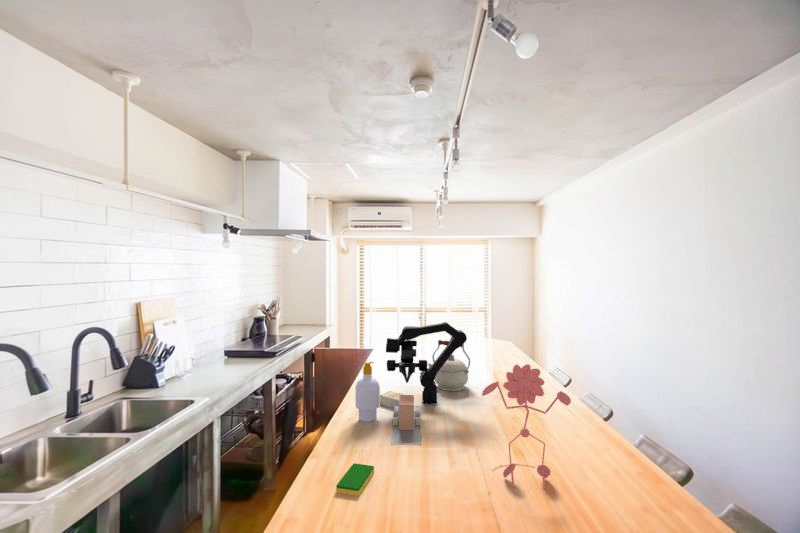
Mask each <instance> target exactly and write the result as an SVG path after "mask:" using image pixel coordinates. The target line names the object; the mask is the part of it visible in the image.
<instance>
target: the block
mask: <svg viewBox="0 0 800 533" xmlns="http://www.w3.org/2000/svg"><path fill="white" fill-rule="evenodd" d="M414 411H415V395H414V394H404V395H400V398H399V430H414Z"/></svg>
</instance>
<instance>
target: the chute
mask: <svg viewBox="0 0 800 533" xmlns="http://www.w3.org/2000/svg"><path fill="white" fill-rule="evenodd" d="M420 408H421V407H420V405H414V430H399V406H394V408H393V414H392V415H393V416H392V432H391V441H390V445H391V446H395V445H396V446H398V445H399V446H400V445H401V446H403V445H404V446H422V444H423V443H422V430H421V429H422V428H421V409H420Z"/></svg>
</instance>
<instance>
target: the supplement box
mask: <svg viewBox="0 0 800 533" xmlns="http://www.w3.org/2000/svg"><path fill="white" fill-rule="evenodd" d="M400 395H405V394H403V393H400V392H396V391H392V390H390V391H387V392H385V393H382V394H380V406H383V407H389V408H393V409H394V406H399V398H400Z"/></svg>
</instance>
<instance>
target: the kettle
mask: <svg viewBox="0 0 800 533" xmlns="http://www.w3.org/2000/svg"><path fill="white" fill-rule="evenodd" d="M449 341H450V340H441V339H438V341H437V348H436V349H435V350H434V351H433V353H432V355H431V356H432V357H431V358H432V362H433V363H434V362H435V354H436V352H437V351H438V350H439V349H440V347H441V345H443V346H445V347H446V346H447V345H448V344H449ZM464 344H465V343H464ZM464 344H463V345H461V346H460V347H459V348H462V352H463V353H464V355H465V357H467V360H468V365H467V366H466V364H465V363H464V361H463V360H461V359H459V358H456V357H455V355H454V354H452V355H451V356H450V357H449V358H448V360H447V361H446V362H445V363H444V365H443V366H442V367H441V369H440V370H439V371H438V372H437V375H436V377H435V379H434V381H435V383H436V385H437V388H438V389H440V390H443V391H445V392H446V391H447V392H457V391H458V392H459V391H462V390H464V388H465V386H466V384H467V382H468V380H469V373H470V371H469V369H470V366H471V358H470V357H469V355H468V353H467V352H466V350H465V345H464ZM433 363H431V362H429V363H427V367H428V368H429V367H431V366H432V364H433Z"/></svg>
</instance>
